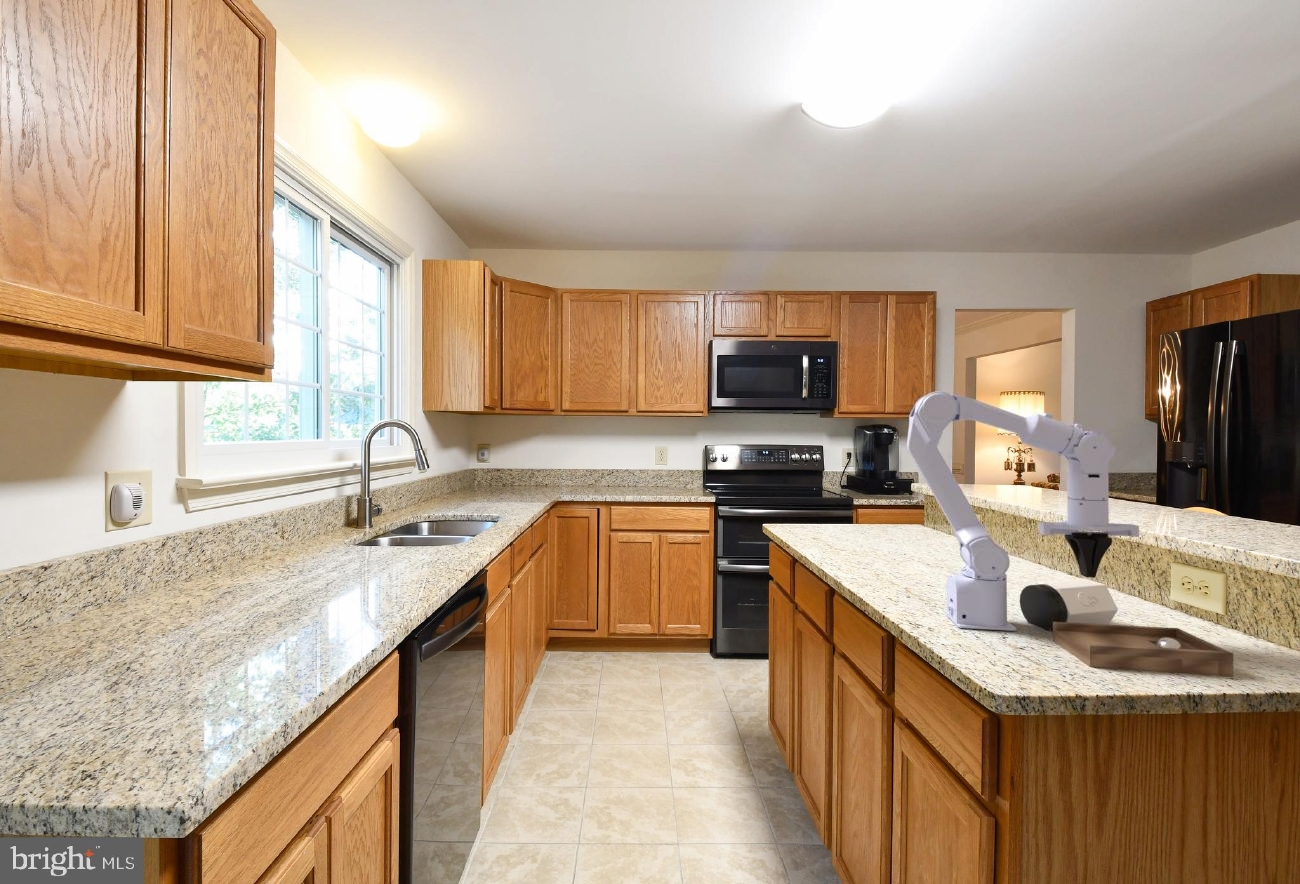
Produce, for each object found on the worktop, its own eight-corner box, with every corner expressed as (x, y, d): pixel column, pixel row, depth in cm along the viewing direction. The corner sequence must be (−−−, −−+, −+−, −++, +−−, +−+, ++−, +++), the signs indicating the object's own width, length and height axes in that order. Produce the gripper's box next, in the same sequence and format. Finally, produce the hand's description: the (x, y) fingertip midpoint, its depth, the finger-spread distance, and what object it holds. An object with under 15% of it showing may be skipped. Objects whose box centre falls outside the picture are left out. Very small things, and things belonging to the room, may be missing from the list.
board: (1090, 666, 83) (1089, 645, 83) (1052, 640, 94) (1052, 621, 94) (1233, 676, 80) (1233, 653, 80) (1177, 647, 90) (1177, 628, 90)
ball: (1168, 664, 85) (1162, 643, 85) (1153, 657, 88) (1147, 636, 88) (1192, 660, 84) (1185, 639, 84) (1176, 653, 87) (1170, 633, 87)
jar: (1126, 622, 97) (1063, 628, 96) (1091, 631, 104) (1032, 637, 103) (1101, 571, 101) (1040, 577, 100) (1068, 584, 108) (1011, 589, 107)
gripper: (1052, 501, 95) (1053, 580, 95) (1150, 502, 92) (1151, 583, 92) (1033, 496, 102) (1033, 570, 102) (1124, 497, 99) (1124, 573, 99)
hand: (1088, 576), depth 98 cm, fingers closed
